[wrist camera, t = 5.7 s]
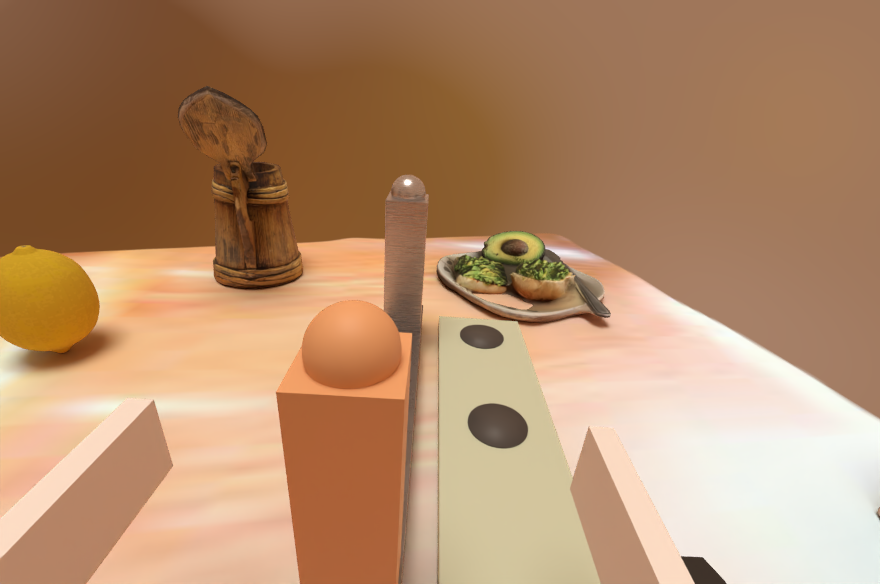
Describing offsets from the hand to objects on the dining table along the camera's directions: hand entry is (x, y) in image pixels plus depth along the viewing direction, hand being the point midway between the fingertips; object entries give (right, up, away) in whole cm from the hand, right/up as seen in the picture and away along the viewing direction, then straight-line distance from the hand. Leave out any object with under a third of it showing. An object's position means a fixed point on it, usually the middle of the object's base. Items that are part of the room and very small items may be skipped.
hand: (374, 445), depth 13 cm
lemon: (-25, 0, +17) cm, 30 cm away
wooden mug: (-17, +6, +29) cm, 35 cm away
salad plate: (+11, +5, +34) cm, 36 cm away
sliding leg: (-1, -6, +2) cm, 6 cm away
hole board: (+5, -4, +13) cm, 14 cm away
